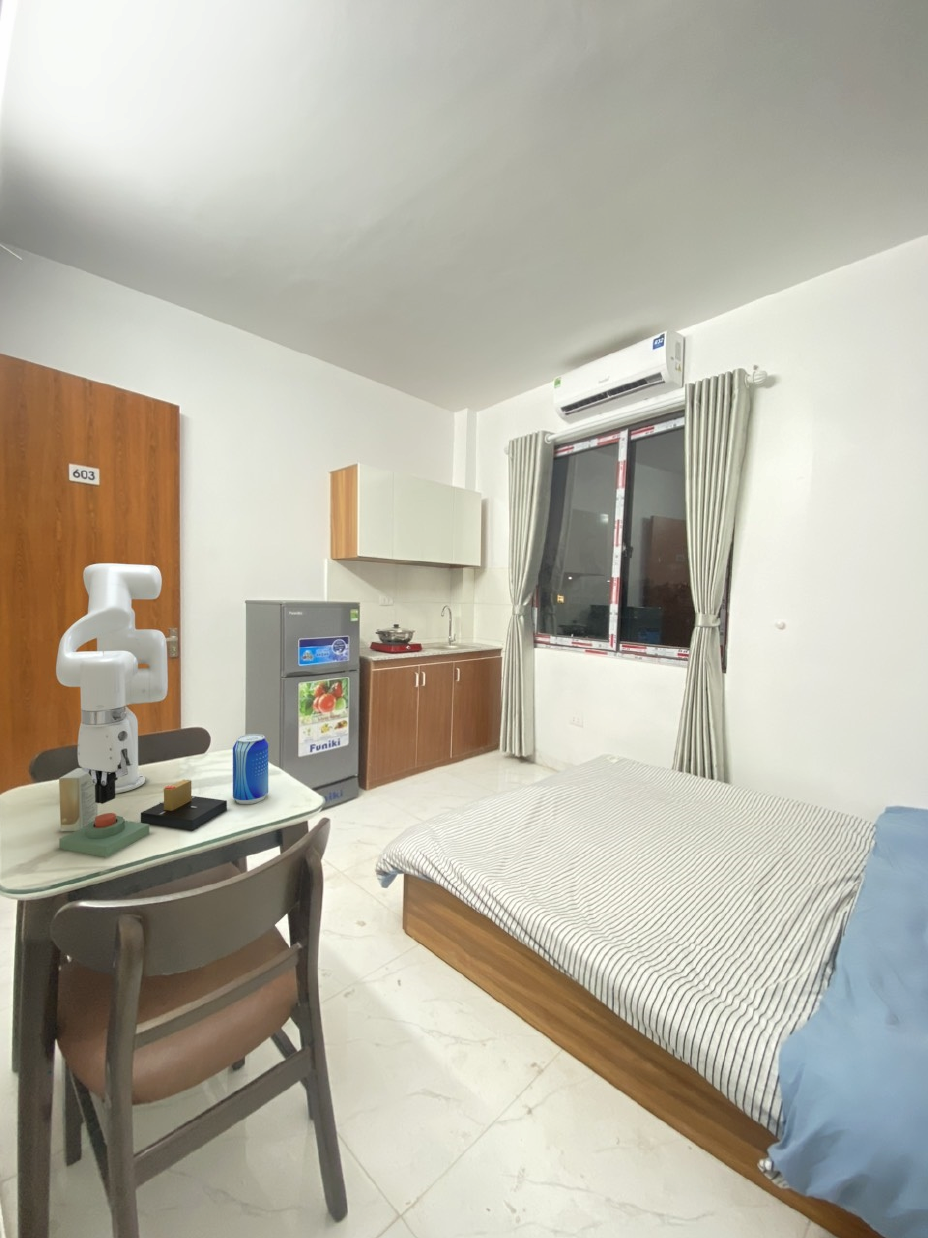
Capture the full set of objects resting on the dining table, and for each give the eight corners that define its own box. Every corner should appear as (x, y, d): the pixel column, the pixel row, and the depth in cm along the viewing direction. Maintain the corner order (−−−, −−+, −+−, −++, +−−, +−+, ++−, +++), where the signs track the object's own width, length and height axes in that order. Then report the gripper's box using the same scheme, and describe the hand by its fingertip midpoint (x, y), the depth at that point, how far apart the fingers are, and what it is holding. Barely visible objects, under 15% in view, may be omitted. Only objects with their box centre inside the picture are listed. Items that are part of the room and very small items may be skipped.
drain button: (90, 827, 103) (90, 819, 103) (106, 819, 107) (106, 812, 106) (104, 829, 102) (104, 821, 102) (120, 822, 106) (120, 814, 106)
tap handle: (183, 799, 120) (183, 778, 120) (191, 800, 120) (191, 779, 119) (163, 810, 114) (163, 787, 114) (171, 811, 114) (171, 788, 113)
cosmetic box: (79, 819, 114) (78, 767, 114) (99, 818, 115) (98, 767, 114) (58, 832, 108) (57, 777, 107) (79, 832, 108) (78, 777, 108)
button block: (59, 849, 101) (58, 830, 101) (105, 827, 111) (104, 809, 111) (106, 857, 98) (106, 838, 98) (149, 834, 108) (149, 816, 108)
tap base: (140, 823, 113) (140, 812, 113) (178, 803, 124) (178, 793, 123) (192, 831, 110) (192, 819, 109) (227, 810, 120) (227, 799, 120)
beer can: (255, 807, 122) (255, 743, 122) (225, 803, 124) (225, 740, 123) (274, 794, 131) (274, 734, 130) (246, 790, 132) (246, 731, 131)
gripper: (148, 714, 105) (149, 798, 106) (92, 708, 109) (94, 789, 110) (116, 723, 98) (117, 813, 99) (57, 716, 101) (59, 803, 103)
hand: (105, 800), depth 105 cm, fingers closed
